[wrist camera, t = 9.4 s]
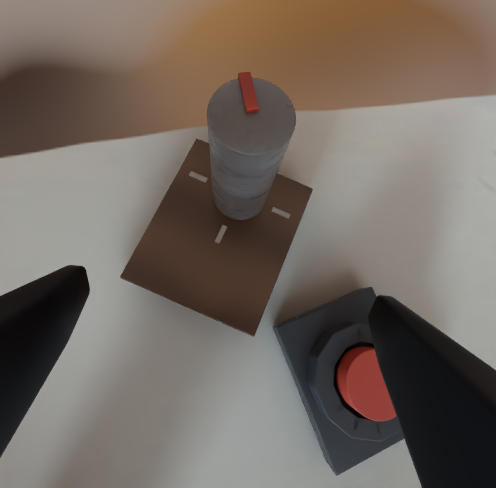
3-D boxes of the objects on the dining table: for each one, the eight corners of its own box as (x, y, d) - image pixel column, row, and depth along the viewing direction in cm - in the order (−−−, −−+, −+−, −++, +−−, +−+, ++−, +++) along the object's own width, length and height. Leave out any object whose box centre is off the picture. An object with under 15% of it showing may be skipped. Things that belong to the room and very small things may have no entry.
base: (250, 334, 21) (254, 337, 19) (130, 281, 21) (118, 277, 19) (308, 190, 25) (318, 176, 22) (204, 144, 25) (202, 125, 22)
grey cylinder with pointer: (270, 215, 21) (307, 144, 12) (217, 224, 21) (215, 156, 12) (259, 167, 22) (286, 67, 13) (208, 174, 21) (199, 75, 12)
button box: (419, 412, 21) (457, 431, 18) (327, 462, 20) (348, 493, 16) (361, 288, 23) (385, 284, 20) (272, 326, 22) (282, 329, 18)
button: (405, 395, 18) (421, 403, 17) (352, 423, 18) (364, 433, 16) (377, 336, 19) (390, 338, 18) (326, 361, 18) (335, 365, 17)
